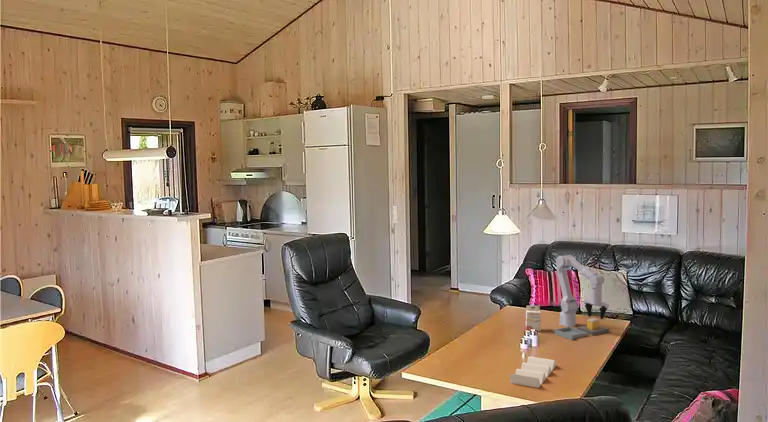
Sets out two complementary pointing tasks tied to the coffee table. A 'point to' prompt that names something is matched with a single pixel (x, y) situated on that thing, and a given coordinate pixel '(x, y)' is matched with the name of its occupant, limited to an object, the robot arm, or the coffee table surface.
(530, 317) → the ink cartridge box
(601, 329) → the block
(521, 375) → the file organizer
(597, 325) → the block
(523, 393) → the coffee table surface
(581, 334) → the parts tray
